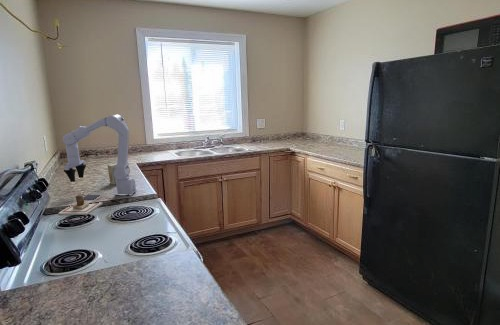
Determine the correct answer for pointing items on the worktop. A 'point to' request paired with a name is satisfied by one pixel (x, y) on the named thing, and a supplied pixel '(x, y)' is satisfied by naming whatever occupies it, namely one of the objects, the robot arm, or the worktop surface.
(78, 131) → the robot arm
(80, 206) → the stamp
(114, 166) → the skincare box
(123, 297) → the worktop surface
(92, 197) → the ink pad
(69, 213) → the marked board
